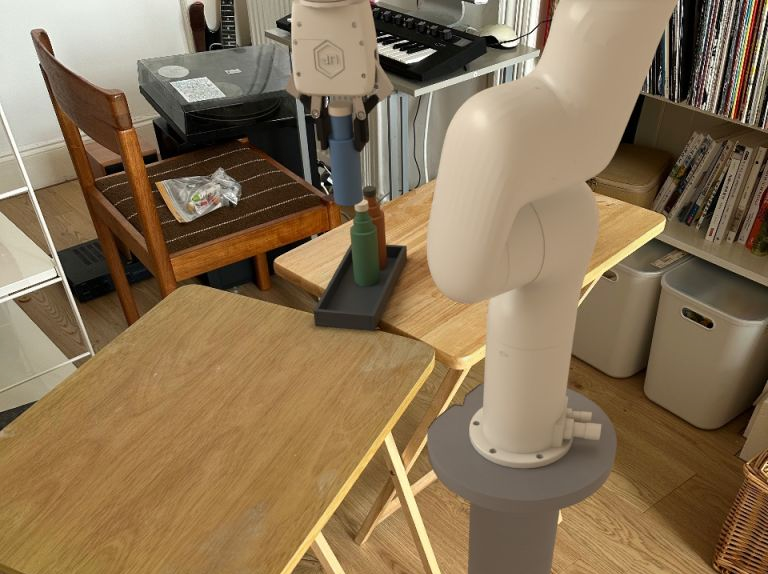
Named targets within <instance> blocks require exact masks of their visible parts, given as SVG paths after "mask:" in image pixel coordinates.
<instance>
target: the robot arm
mask: <svg viewBox="0 0 768 574" xmlns="http://www.w3.org/2000/svg"><path fill="white" fill-rule="evenodd" d="M291 3H292V4H291V19H290V21H291V22H290V23H291V26H290V27H291V28H290V29H291V31H290V32H291V33H290V34H291V35H290V36H291V59H292V71H291V73H290V76H289V78H288V80H287V82H286V85H285V91H286V92H287V93H288V94H289V95H291V96H292V97H294V98H295V99H296V100H299V102H300V104H302V106H304V107H305V108H306V109H307V111H309V112H310V116H311V117H312V118H313V119H314V122H315V123H314V124H315V132H316V133H315V134H316V140H317V141H318V142H319V143H320V149H321V151H327V150H329V143H328V136H329V135H330V134H332V127H331V117H330V114H329V112H328V107H327V97H346V98H347V97H348V98H349V97H351V99H352V103H353V108H354V111H355V117H354V118H353V132H354V140H355V150H356V151H357V152H360V153H361V152H362V151H363V150H364V148H365V147H366V145H367V144H368V143H369V142H370V123H369V122H370V120H369V114H370V113H371V112H372V111H373V109H374V108H376V106H377V105H378V104H379V103H380V102H382V101H384V100H385V99H387V98H388V97H389V96H390V95H392V93H393V92H394V89H395V87H394V84H393V82H392V81H391V80H390V78H389V77H388V75H387V73H386V72H385V70H384V69H383V68H382V66H381V64H380V58H379V57H380V56H379V48H378V39H377V32H376V26H375V21H374V16H373V10H372V7H371V2H370V0H292V2H291ZM678 3H679V0H559V1H558V3H557V6H556V8H555V10H554V14H553V16H552V18H551V19H552V20H551V25H550V28H549V32H548V36H547V39H546V42H545V45H544V48H543V51H542V54H541V56H540V59H539V60H538V62H537V65H536V66H535V67H534V68H533V70H531V71H530V72H529V73H527V74H526V75H524V76H522V77H520V78H516V79H513V80H511V81H508V82H504V83H500V84H497V85H494V86H491V87H488V88H485V89H482V90H480V91H479V92H477V93H475V94H474V95H472V96H471V97H469V98H468V99H466V101H464V102H463V104H462V105H461V106H460V107H459V108H458V110H456V112H455V113H454V116H453V117H452V119H451V121H450V122H449V125H448V127H447V129H446V133H445V136H444V140H443V145H442V148H441V154H440V159H439V165H438V170H437V175H436V181H435V186H434V191H433V195H432V196H433V197H432V202H431V207H430V213H429V217H428V223H427V232H426V248H425V249H426V260H427V264H428V270H429V273H430V276H431V279H432V280H433V283H434V284H435V286H436V288H437V289H438V290H439V292H440V293H441V294H442V295H443V296H444V297H446V298H447V299H449V300H450V301H452V302H455V303H458V304H464V305H473V304H478V303H483V302H485V301H488V304H487V311H486V325H485V326H486V327H485V328H486V329H485V349H484V350H485V352H484V375H483V377H484V378H483V381H484V382H483V383H484V397H483V407H482V408H481V409H480V410H478V411H477V412H476V414H475V415H474V416H473V418H472V420H471V422H470V427H469V437H470V441H471V443H472V445H473V447H474V448H475V449H476V451H477V452H478V453H479V454H480V455H482V456H483V457H485V458H486V459H488V460H490V461H492V462H494V463H496V464H499V465H502V466H506V467H511V468H523V469H526V468H536V467H541V466H545V465H548V464H551V463H553V462H555V461H557V460H559V459H560V458H562V457H563V456H564V455H565V454H566V453H567V452H568V450H569V449H570V447H571V445H572V442H573V437H580V438H584V439H591V440H599V439H600V433H601V424H595V423H591V417H592V412H584V411H581V412H578V411H572V408H567V403H568V397H567V396H566V389H567V388H568V380H569V375H570V374H569V373H570V367H571V358H572V352H573V345H574V335H575V331H576V323H577V315H578V309H579V303H580V298H581V293H582V288H583V284H584V280H585V277H586V274H587V271H588V269H589V266H590V263H591V260H592V259H593V258H592V257H593V254H594V252H595V249H596V244H597V240H598V237H599V232H600V231H599V230H600V210H599V205H598V201H597V198H596V196H595V193H594V192H593V189H592V188H591V187H590V186H589V184H588V183H587V181H589V180H591V179H593V178H594V177H596V176H597V175H599V174H601V173H602V172H603V171H604V170H605V169H606V168H607V167H608V166H609V164H610V163H611V161H612V159H613V157H614V156H615V154H616V152H617V150H618V147H619V145H620V142H621V141H622V138H623V135H624V133H625V130H626V128H627V126H628V123H629V121H630V118H631V115H632V113H633V111H634V109H635V106H636V103H637V100H638V98H639V96H640V94H641V91H642V88H643V86H644V83H645V80H646V78H647V76H648V73H649V71H650V68H651V66H652V63H653V60H654V58H655V55H656V53H657V49H658V46H659V44H660V42H661V40H662V37H663V35H664V32H665V30H666V27H667V26H668V24H669V21H670V20H671V18H672V15H673V13H674V11H675V9H676V7H677V5H678ZM375 84H376V85H377V89H376V90H375V91H373V90H374V87H375ZM372 91H373V92H372ZM370 93H371V94H370ZM369 94H370V95H369ZM574 421H575V422H574ZM578 422H580V423H578Z"/></svg>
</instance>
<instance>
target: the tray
mask: <svg viewBox="0 0 768 574" xmlns="http://www.w3.org/2000/svg"><path fill="white" fill-rule="evenodd" d="M386 253H387V266H386V267H385V268H384V269H382V270H379V272H380V281H379V282H378V283H377V284H375V285H373V286H360V285H357V284H356V283H355V280H354V269H353V258H352V247H351V244H350V245H349V246H348V248H347V250H346V252H345V254H344V255H343V257H342V259H341V261H340V262H339V264H338V266H337V268H336V270H335V271H334V273H333V274H332V276H331V278H330V280H329V281H328V284H327V286H326V288H325V289H324V291H323V292H322V294H321V296H320V298H319V300H318V302H317V304H316V305H315V306H314V309H313V311H312V312H313V319H314V326H317V327H326V328H327V327H328V328H330V327H331V328H340V329H349V330H350V329H351V330H360V331H372V332H375V331H376V330H377V328H378V326H379V324H380V321H381V319H382V317H383V314H384V313H385V310H386V308H387V306H388V303H389V301H390V299H391V297H392V294H393V292H394V291H395V289H396V288H395V287H396V286H397V283H398V281H399V280H400V276H401V275H402V273H403V270H404V267H405V265H406V263H407V261H408V249H407V245H402V244H387V243H386Z"/></svg>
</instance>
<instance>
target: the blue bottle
mask: <svg viewBox="0 0 768 574" xmlns="http://www.w3.org/2000/svg"><path fill="white" fill-rule="evenodd" d="M327 110H328V112H329V114H330V117H331V127H332V134H330V135H329V136H328V143H329V148H328V153H329V161H330V172H331V180H332V181H331V182H332V192H333V201H334V203H335V205H337V206H341V207H351V206H355V205H356V204H359V203H360V202H362V200H364V195H363V180H362V178H363V177H362V170H361V169H362V167H361V152H357V151H356V150H355V140H354V127H353V121H354V119H353V112H354V103H353V100H349V99H334V100H332V101H330V102H328V104H327Z"/></svg>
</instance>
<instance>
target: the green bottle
mask: <svg viewBox="0 0 768 574" xmlns="http://www.w3.org/2000/svg"><path fill="white" fill-rule="evenodd" d="M354 211H355V216H354V217H353V219H352V221H353V222H352V223H353V225H351V227H350V229H349V235H350V245H351V247H352V258H353V269H354V280H355V283H356V284H357V285H360V286H373V285H375V284H377V283H378V282H379V281H380V272H379V257H378V242H377V228H376V226H375V225H374V224H372V217H371V216H369V215H368V201H367V200H364V199H363V200H362V202H360V203H359V204H356V205H354Z"/></svg>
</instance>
